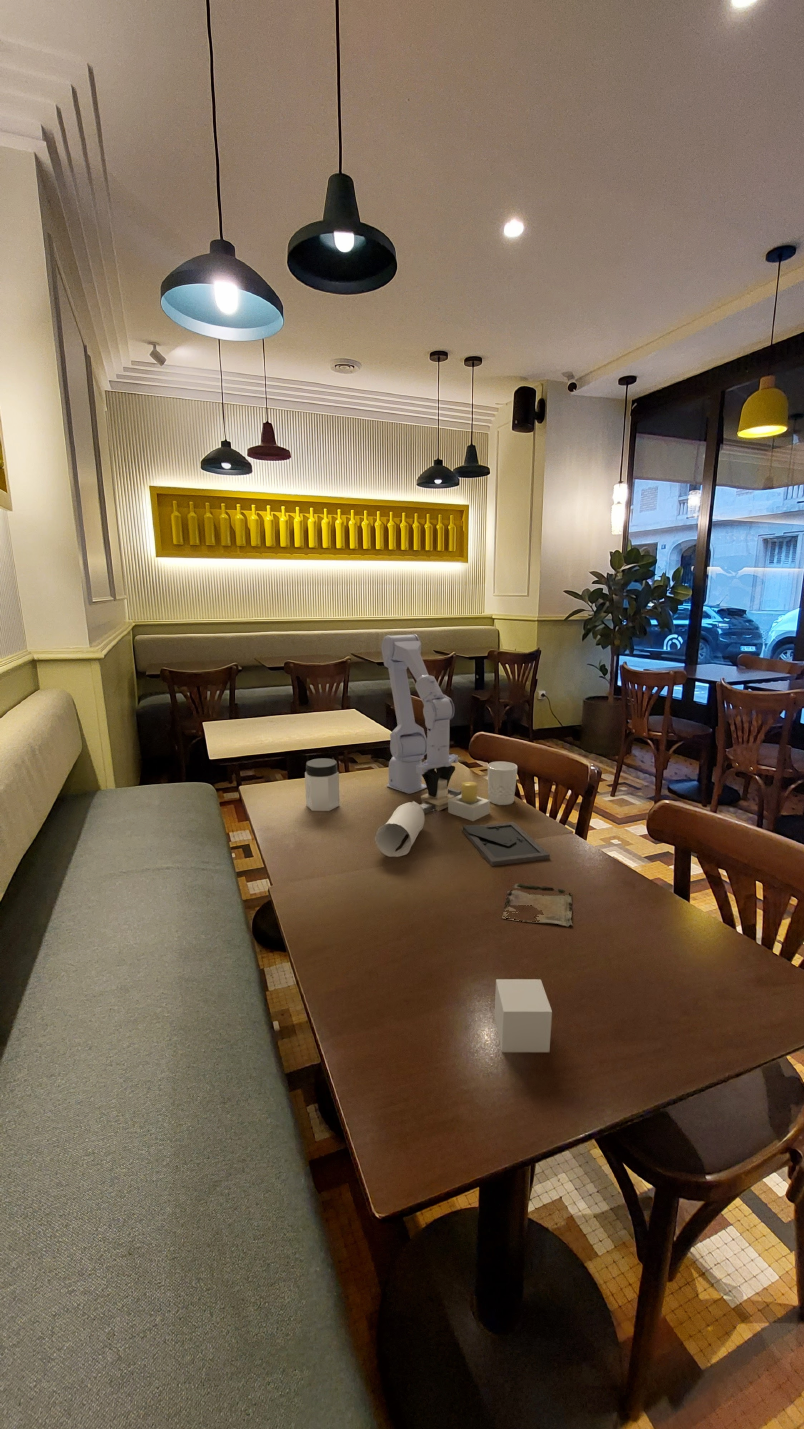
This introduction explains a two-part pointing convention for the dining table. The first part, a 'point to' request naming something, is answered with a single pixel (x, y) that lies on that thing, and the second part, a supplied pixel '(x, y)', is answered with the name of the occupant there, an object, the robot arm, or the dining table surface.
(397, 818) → the white hollow cylinder
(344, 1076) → the dining table surface
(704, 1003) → the dining table surface
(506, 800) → the white cup
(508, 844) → the picture frame
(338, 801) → the jar
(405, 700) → the robot arm
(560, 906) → the parchment
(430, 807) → the gray block handle
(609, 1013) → the dining table surface
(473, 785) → the cylinder
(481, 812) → the frame
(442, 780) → the carriage
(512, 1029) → the white cube
